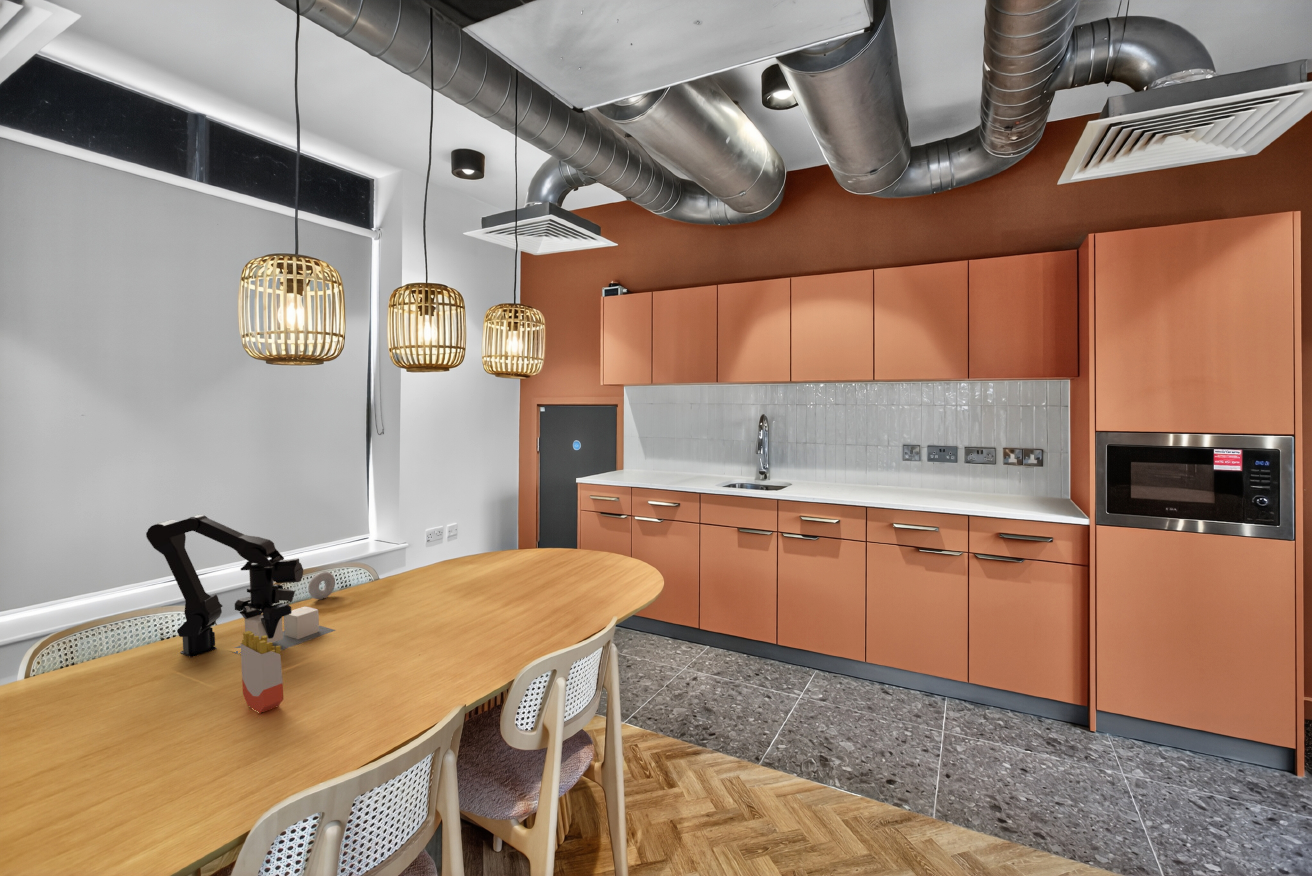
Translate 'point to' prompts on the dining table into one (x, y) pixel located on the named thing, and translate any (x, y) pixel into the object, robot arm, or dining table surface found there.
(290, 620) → the closed white box
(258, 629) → the white cube
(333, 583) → the donut
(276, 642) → the mat
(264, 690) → the french fries container
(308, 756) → the dining table surface
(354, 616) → the dining table surface
